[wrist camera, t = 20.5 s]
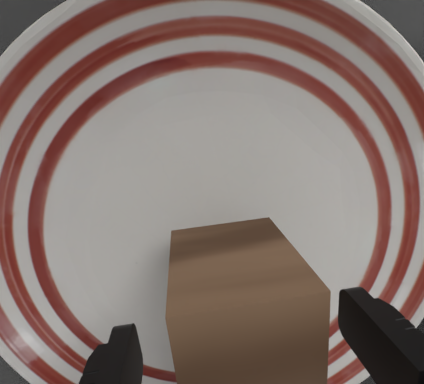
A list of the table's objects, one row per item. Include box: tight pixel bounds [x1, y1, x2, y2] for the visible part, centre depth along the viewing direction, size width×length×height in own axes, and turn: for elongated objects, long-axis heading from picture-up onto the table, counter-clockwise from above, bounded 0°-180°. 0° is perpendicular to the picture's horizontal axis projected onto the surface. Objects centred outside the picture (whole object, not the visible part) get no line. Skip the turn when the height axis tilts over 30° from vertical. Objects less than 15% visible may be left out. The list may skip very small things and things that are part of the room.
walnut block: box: [165, 217, 331, 384], centre depth 12 cm, size 5×5×6 cm
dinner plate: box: [0, 0, 424, 384], centre depth 16 cm, size 28×27×3 cm
